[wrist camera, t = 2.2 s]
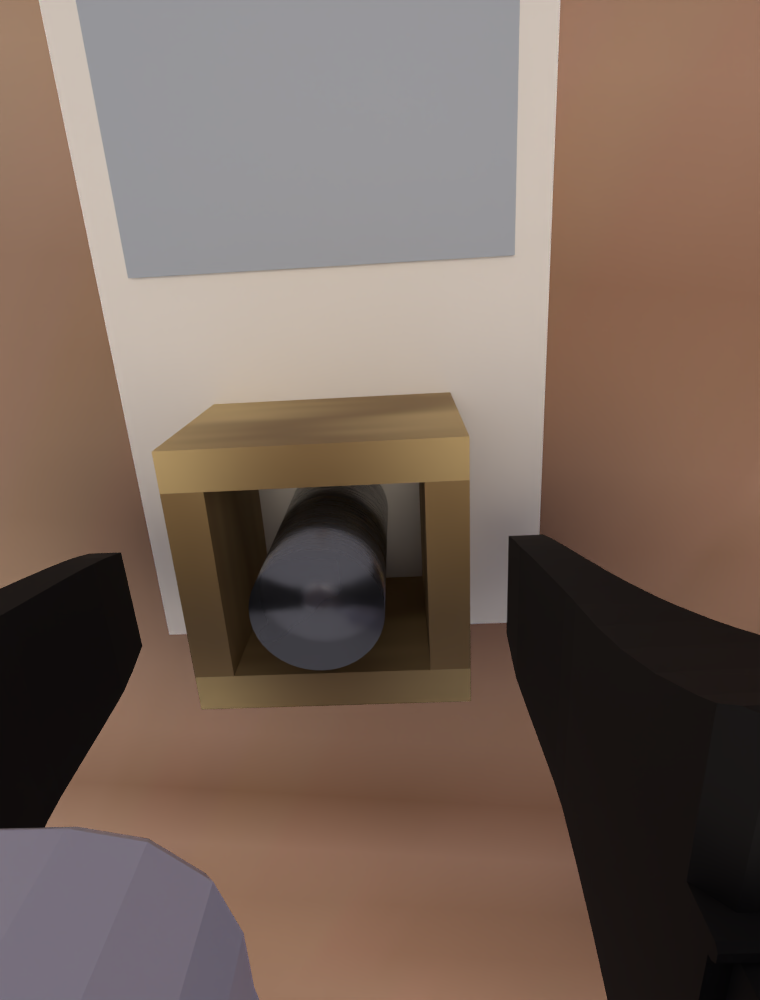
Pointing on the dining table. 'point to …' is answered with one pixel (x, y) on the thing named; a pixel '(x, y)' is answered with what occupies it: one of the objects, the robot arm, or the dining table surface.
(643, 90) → the dining table surface
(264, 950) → the dining table surface
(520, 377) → the board
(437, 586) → the collar
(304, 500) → the post
